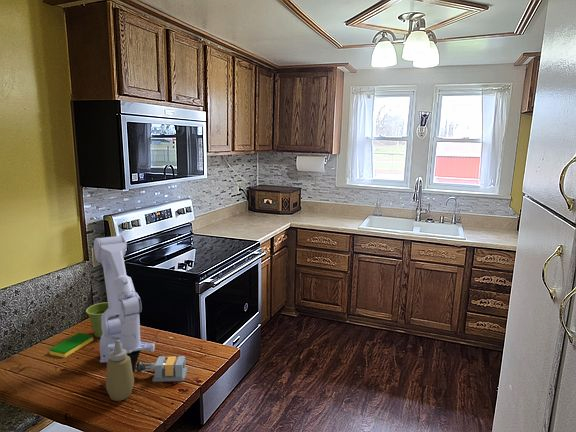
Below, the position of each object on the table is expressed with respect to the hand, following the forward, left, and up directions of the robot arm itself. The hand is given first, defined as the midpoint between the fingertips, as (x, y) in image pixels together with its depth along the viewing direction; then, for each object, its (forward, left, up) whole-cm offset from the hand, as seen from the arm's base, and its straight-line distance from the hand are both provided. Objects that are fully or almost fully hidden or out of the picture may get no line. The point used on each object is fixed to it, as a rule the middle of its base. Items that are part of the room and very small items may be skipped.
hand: (132, 370), depth 130 cm
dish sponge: (-29, +21, -3) cm, 36 cm away
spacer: (+12, 0, -1) cm, 12 cm away
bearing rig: (+12, 0, -2) cm, 12 cm away
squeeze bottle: (-1, -10, -2) cm, 10 cm away
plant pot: (-21, +31, -2) cm, 37 cm away
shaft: (+8, 0, 0) cm, 8 cm away
